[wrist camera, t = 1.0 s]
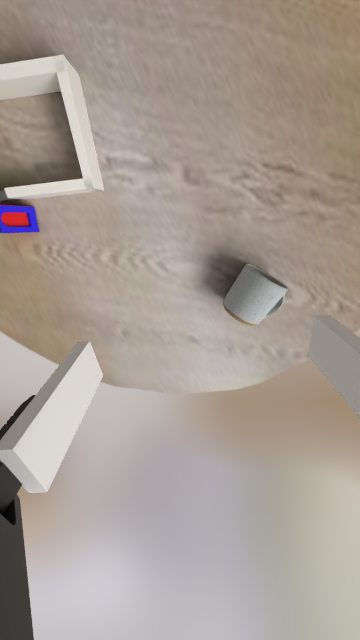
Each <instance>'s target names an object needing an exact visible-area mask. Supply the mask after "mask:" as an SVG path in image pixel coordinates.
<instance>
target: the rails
mask: <svg viewBox="0 0 360 640" xmlns="http://www.w3.org/2000/svg"><path fill="white" fill-rule="evenodd" d="M12 200H20V199H11V198H8V197H7V195H6V192H5V190H3V191H0V202H4V201H12Z"/></svg>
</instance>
